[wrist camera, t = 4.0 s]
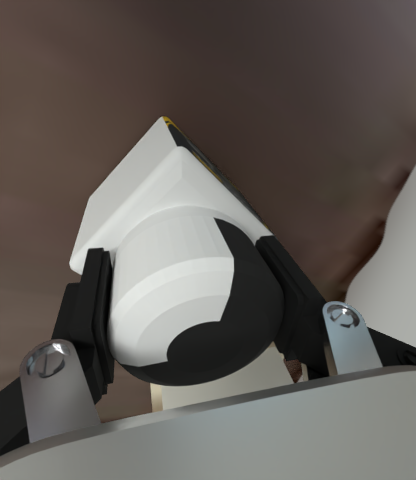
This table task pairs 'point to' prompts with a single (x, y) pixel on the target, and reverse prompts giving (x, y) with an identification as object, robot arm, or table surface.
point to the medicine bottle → (180, 264)
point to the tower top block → (232, 382)
